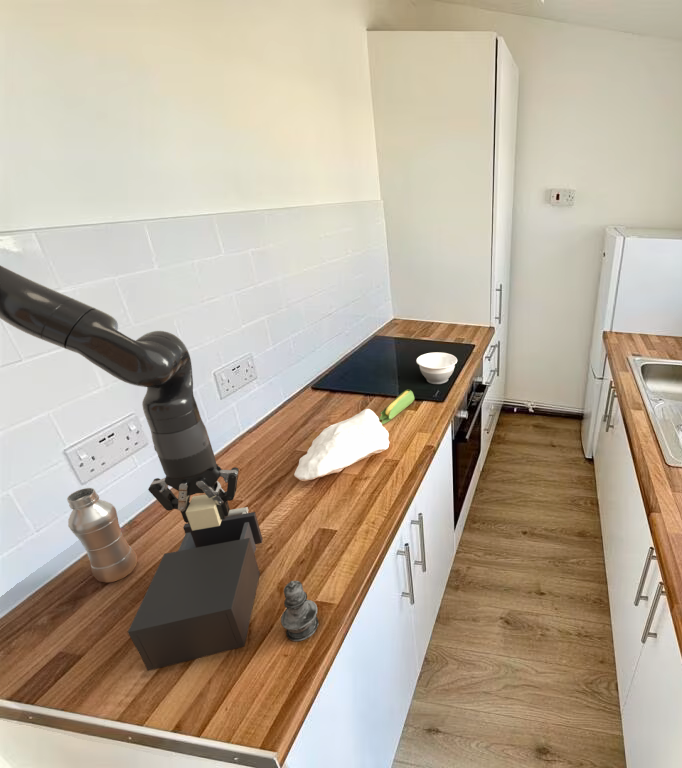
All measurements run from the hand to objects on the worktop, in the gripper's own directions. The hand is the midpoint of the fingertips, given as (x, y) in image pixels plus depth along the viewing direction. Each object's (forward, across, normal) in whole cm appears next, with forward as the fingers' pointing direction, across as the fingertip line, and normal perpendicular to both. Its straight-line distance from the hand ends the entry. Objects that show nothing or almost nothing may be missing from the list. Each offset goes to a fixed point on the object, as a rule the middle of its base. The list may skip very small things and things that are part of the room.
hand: (208, 518), depth 83 cm
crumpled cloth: (+13, -24, -34) cm, 43 cm away
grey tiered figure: (+13, -16, +18) cm, 28 cm away
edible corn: (+13, -40, -56) cm, 70 cm away
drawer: (+12, 0, 0) cm, 12 cm away
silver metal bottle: (+13, +19, -4) cm, 24 cm away
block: (0, 0, 0) cm, 0 cm away
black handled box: (+13, 0, +12) cm, 17 cm away
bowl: (+13, -58, -79) cm, 99 cm away
